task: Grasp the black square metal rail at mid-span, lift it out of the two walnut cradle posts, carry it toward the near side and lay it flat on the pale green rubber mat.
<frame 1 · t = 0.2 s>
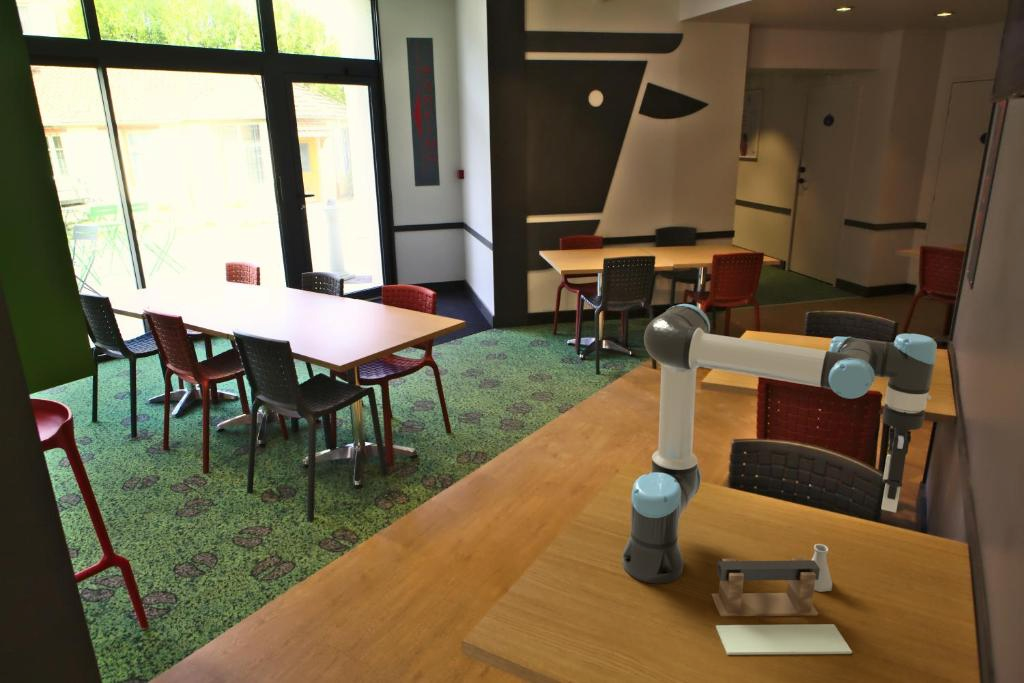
hand: (889, 495, 143), 28 cm above the table, fingers open, 13 cm apart
mat: (781, 640, 140), on the table
rail: (766, 576, 148), point 8 cm above the table, touching rack
rack: (763, 605, 150), on the table
flask: (816, 583, 158), on the table
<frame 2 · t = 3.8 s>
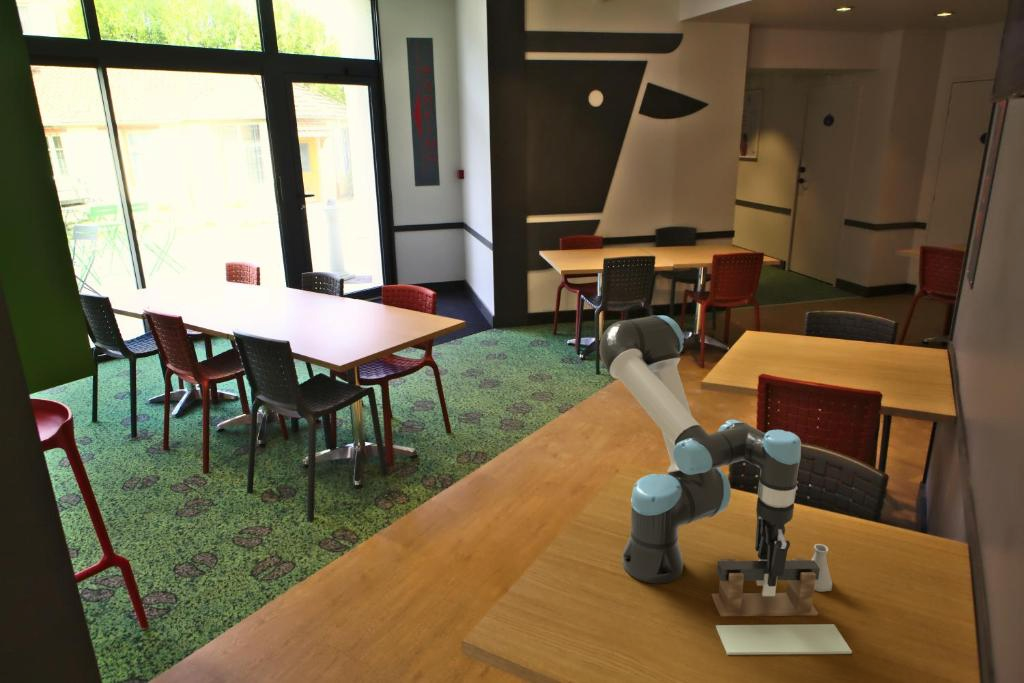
hand: (765, 589, 149), 4 cm above the table, fingers closed on rail, 3 cm apart
rail: (766, 576, 148), point 8 cm above the table, touching gripper, rack
everything else where it was.
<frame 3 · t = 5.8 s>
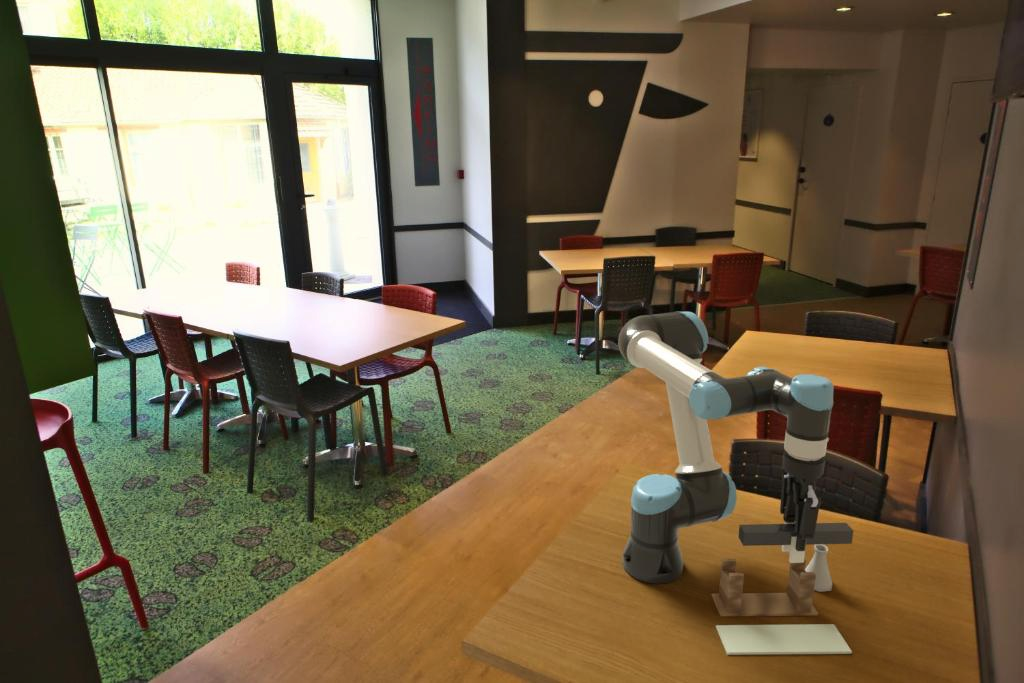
hand: (792, 555, 134), 21 cm above the table, fingers closed on rail, 3 cm apart
rail: (794, 540, 133), point 25 cm above the table, touching gripper
everything else where it was.
when the fingers open (1 cm above the table, at t = 8.0 s): rail drops 3 cm, point 2 cm above the table.
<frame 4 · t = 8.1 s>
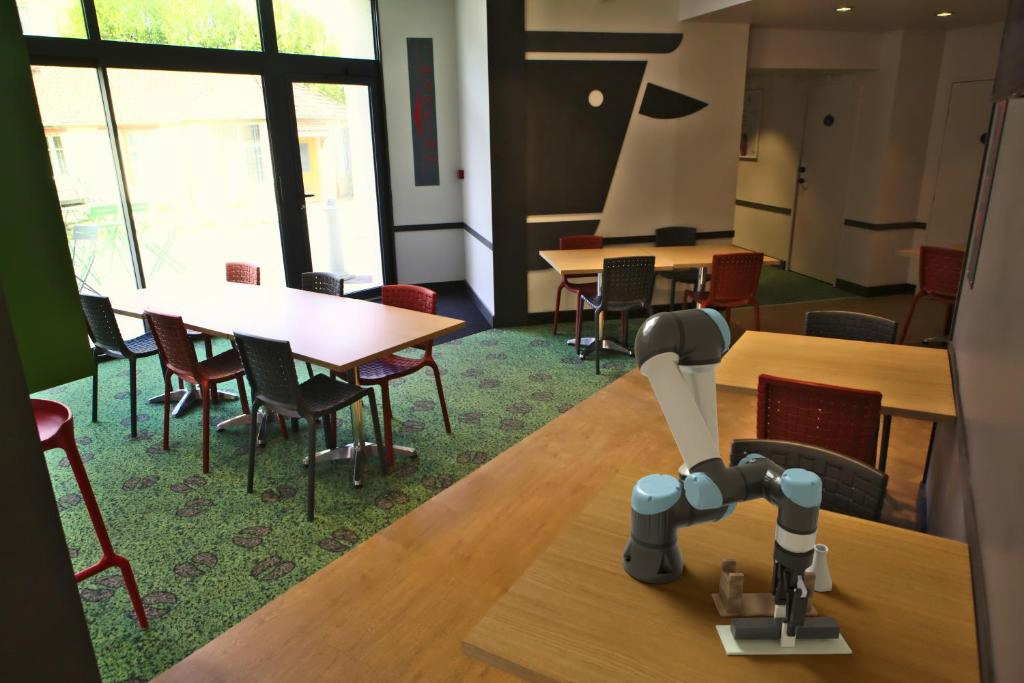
hand: (783, 638, 139), 1 cm above the table, fingers open, 3 cm apart
rail: (783, 634, 139), point 2 cm above the table
everything else where it was.
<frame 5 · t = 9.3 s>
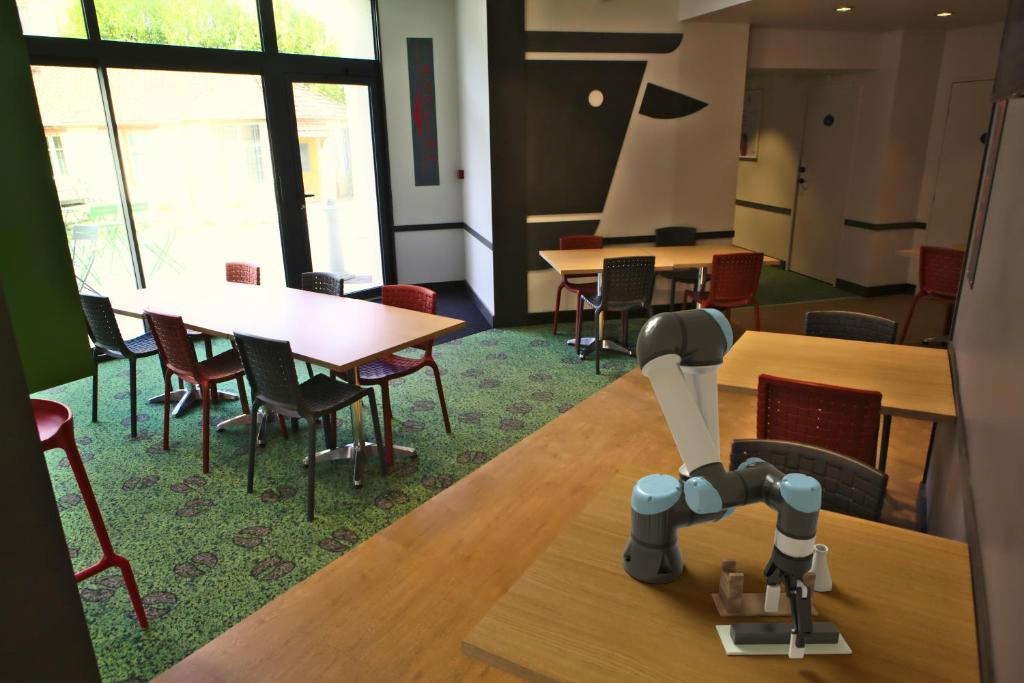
hand: (782, 632, 139), 2 cm above the table, fingers open, 13 cm apart
rail: (783, 639, 139), point 1 cm above the table, touching mat
everything else where it was.
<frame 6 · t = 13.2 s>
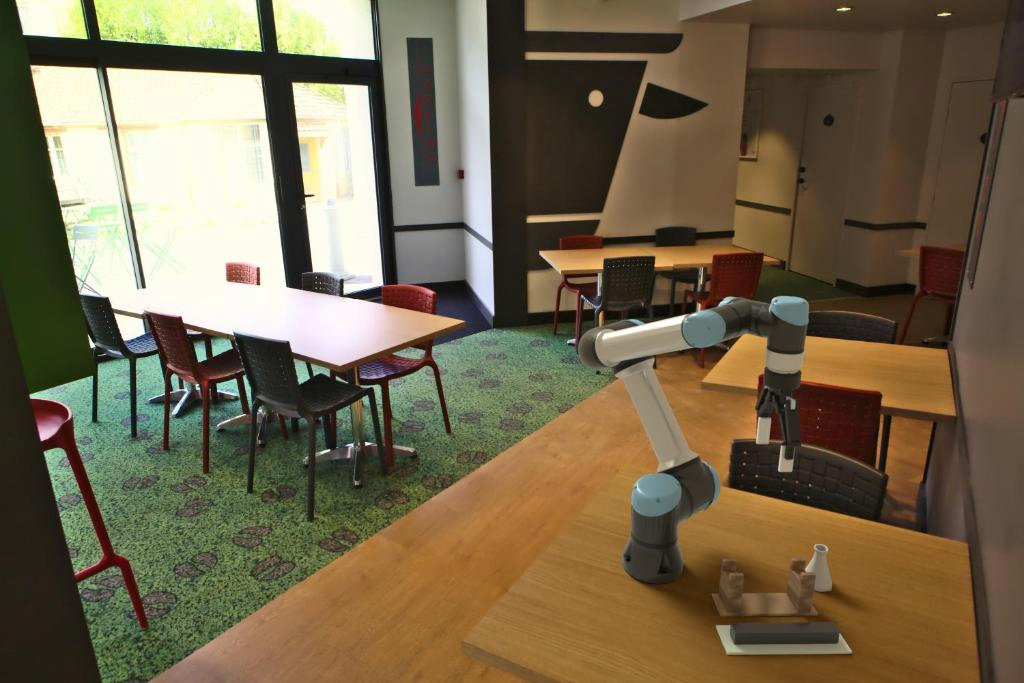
hand: (773, 456, 146), 35 cm above the table, fingers open, 13 cm apart
nothing on the table moved.
at the end: rail 0.3 cm from the mat (horizontally); rail point 0.6 cm above the table; the gripper is holding nothing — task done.
